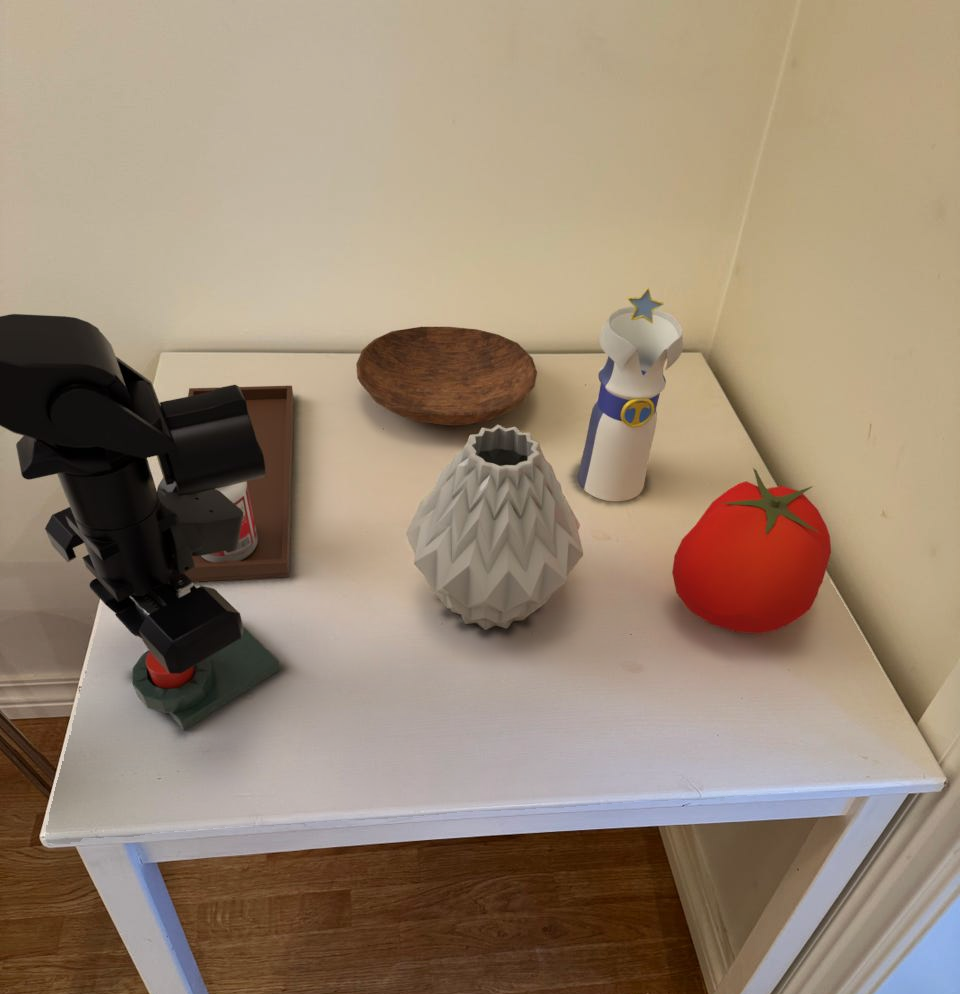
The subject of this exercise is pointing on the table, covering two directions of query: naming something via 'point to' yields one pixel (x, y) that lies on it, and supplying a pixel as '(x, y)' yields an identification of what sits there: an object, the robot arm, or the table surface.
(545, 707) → the table surface
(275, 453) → the brown rectangular tray
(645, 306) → the white toy figure
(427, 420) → the bowl
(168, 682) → the button
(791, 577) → the tomato
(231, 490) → the pill bottle
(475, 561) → the vase
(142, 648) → the table surface
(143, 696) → the block
